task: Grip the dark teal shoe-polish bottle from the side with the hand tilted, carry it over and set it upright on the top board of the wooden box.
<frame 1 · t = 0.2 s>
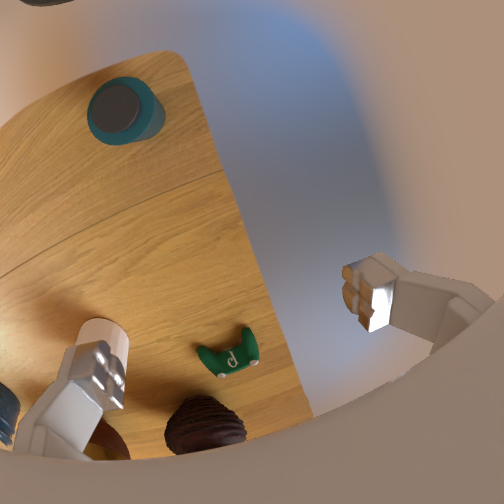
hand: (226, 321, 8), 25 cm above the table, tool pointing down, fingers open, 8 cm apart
canister: (0, 392, 35), on the table
gaming controller: (228, 346, 42), on the table
mug: (95, 341, 36), on the table
vase: (200, 405, 48), on the table
polish bottle: (143, 118, 25), on the table
bowl: (93, 419, 44), on the table
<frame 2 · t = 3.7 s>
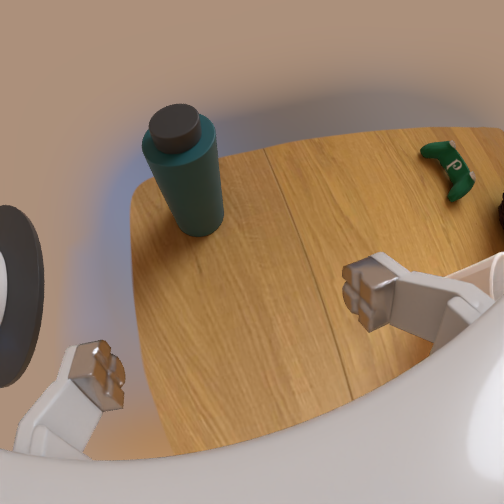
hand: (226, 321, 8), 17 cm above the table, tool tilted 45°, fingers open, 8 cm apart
gaming controller: (443, 174, 32), on the table
mug: (456, 322, 25), on the table
polish bottle: (199, 214, 28), on the table
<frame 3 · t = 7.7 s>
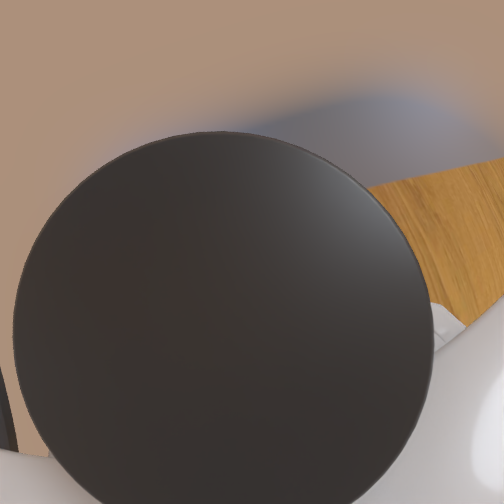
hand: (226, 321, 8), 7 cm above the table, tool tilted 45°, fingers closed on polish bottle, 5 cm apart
polish bottle: (237, 339, 14), on the table, touching gripper
when the fingers open (15 cm above the table, at t = 19.2 s): polish bottle stays where it is, resting on wooden box.
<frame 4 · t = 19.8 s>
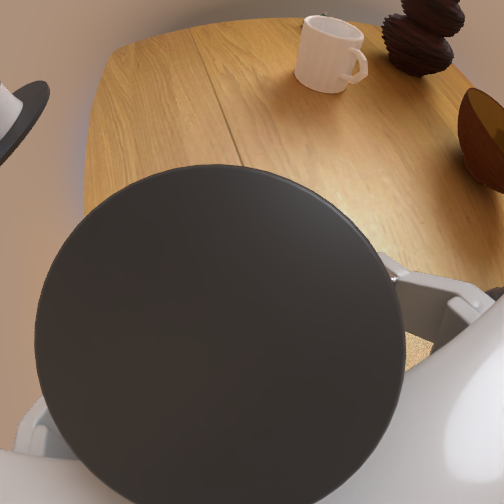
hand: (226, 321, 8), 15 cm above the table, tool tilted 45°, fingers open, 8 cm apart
mug: (327, 86, 33), on the table
vase: (405, 66, 38), on the table
polish bottle: (236, 340, 15), point 8 cm above the table, touching wooden box
bowl: (474, 168, 31), on the table
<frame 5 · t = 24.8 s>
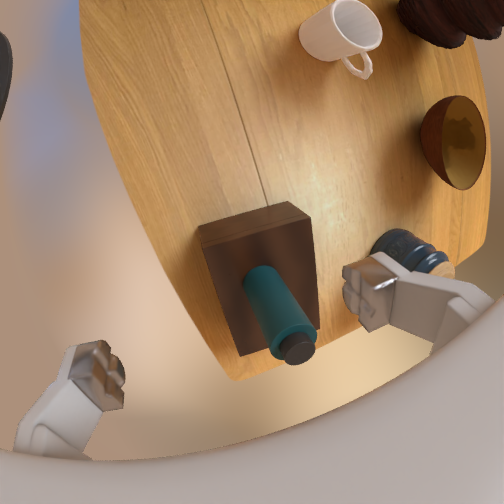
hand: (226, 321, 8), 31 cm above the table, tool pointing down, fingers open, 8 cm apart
wooden box: (256, 269, 45), on the table
canister: (389, 255, 52), on the table
mug: (326, 50, 32), on the table
vase: (410, 18, 30), on the table
polish bottle: (261, 281, 36), point 8 cm above the table, touching wooden box
bowl: (428, 135, 42), on the table
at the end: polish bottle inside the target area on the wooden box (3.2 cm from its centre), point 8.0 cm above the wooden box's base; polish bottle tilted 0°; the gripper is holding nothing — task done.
